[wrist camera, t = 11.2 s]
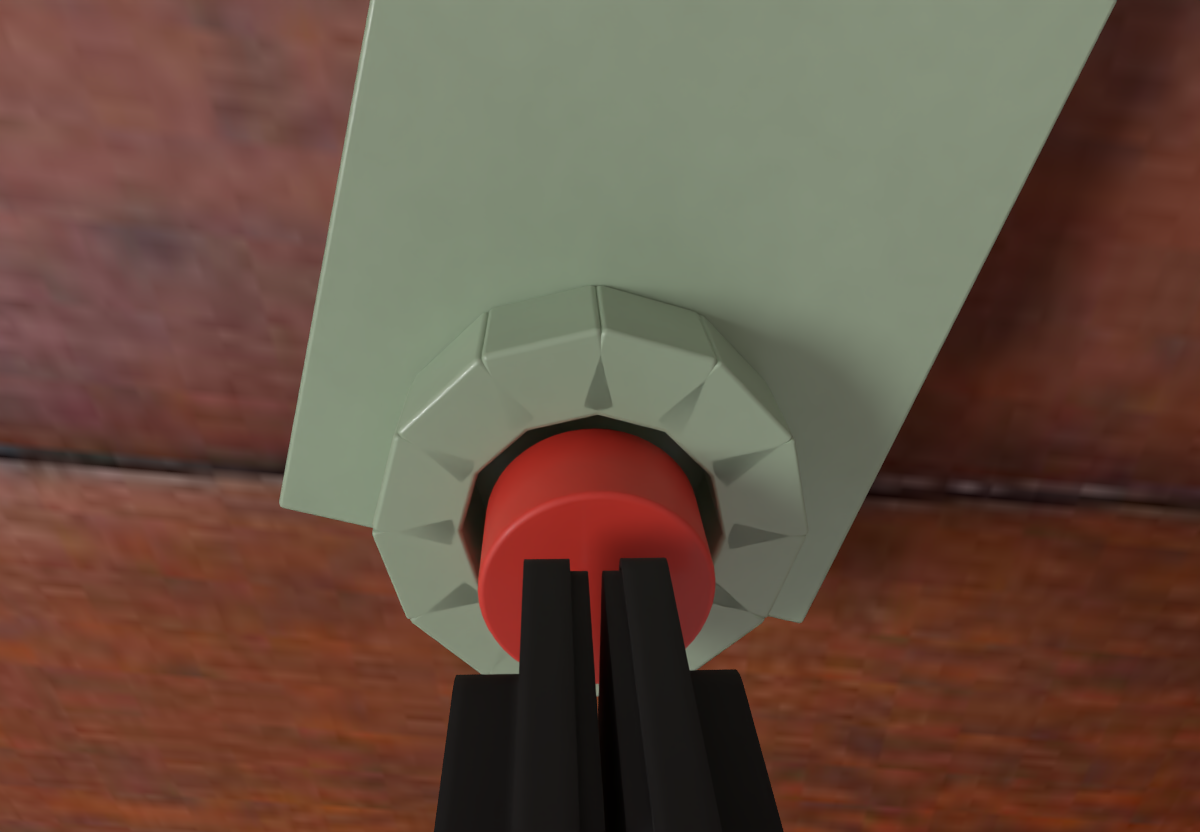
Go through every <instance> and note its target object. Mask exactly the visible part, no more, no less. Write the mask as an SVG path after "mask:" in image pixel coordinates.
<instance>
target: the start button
mask: <svg viewBox="0 0 1200 832" xmlns="http://www.w3.org/2000/svg"><path fill="white" fill-rule="evenodd" d="M662 557H665V558H666V559H667V562H668V566H669V571H670V576H671V581H672V586H673V591H674V596H675V600H676V605H677V610H678V615H679V620H680V625H681V630H682V635H683V640H684V645H685V649H686V648H687V647H688V646H689V645H690V644H691V643H692V641H693V640H694V639H695V638H696V636H697V635H698V634H699V632H700V631H701V629H702V627H703V625H704V624H705V622H706V620H707V618H708V615H709V613H710V610H711V607H712V604H713V600H714V595H715V580H716V579H715V571H714V565H713V561H712V557H711V554H710V550H709V546H708V542H707V539H706V535H705V531H704V527H703V523H702V520H701V516H700V512H699V508H698V505H697V501H696V497H695V494H694V491H693V488H692V486H691V484H690V481H689V479H688V477H687V476H686V474H685V473H684V471H683V470H682V468H681V467H680V466H679V465H678V464H677V463H676V462H675V461H674V459H673V458H672V457H670V456H669V455H668V454H667V453H666V452H664V451H663V450H662V449H660V448H659V447H657V446H655V445H654V444H652V443H651V442H649V441H646V440H644V439H642V438H640V437H638V436H635V435H632V434H629V433H625V432H621V431H616V430H611V429H598V428H593V429H579V430H573V431H567V432H563V433H560V434H556V435H553V436H551V437H549V438H546V439H544V440H541V441H540V442H538V443H536V444H534V445H533V446H531V447H529V448H528V449H526V450H525V451H524V452H522V453H521V454H520V455H518V456H517V457H516V458H515V459H514V460H513V461H512V462H511V463H510V464H509V465H508V466H507V467H506V468H505V470H504V471H503V472H502V474H501V475H500V476H499V478H498V480H497V482H496V483H495V485H494V487H493V489H492V492H491V494H490V497H489V500H488V505H487V510H486V518H485V526H484V534H483V543H482V551H481V560H480V568H479V577H478V600H479V606H480V609H481V613H482V616H483V619H484V621H485V623H486V625H487V627H488V629H489V631H490V632H491V634H492V635H493V637H494V638H495V640H496V641H497V642H498V644H499V645H500V646H501V647H502V648H503V649H504V650H505V651H506V652H507V653H508V654H509V655H510V656H511V657H513V658H514V659H515V660H516V661H518V662H519V659H520V635H521V611H522V587H523V564H524V559H570V571H588V578H589V593H590V608H591V623H592V638H593V653H594V668H595V683H596V684H599V661H600V622H601V582H602V571H611V570H619V561H620V558H662Z"/></svg>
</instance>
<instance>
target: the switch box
mask: <svg viewBox="0 0 1200 832" xmlns="http://www.w3.org/2000/svg"><path fill="white" fill-rule="evenodd" d="M1116 2H1117V0H370V4H369V9H368V15H367V20H366V26H365V31H364V37H363V42H362V48H361V53H360V59H359V64H358V70H357V76H356V81H355V87H354V92H353V98H352V103H351V109H350V114H349V120H348V125H347V131H346V136H345V142H344V147H343V153H342V158H341V164H340V169H339V175H338V180H337V186H336V191H335V197H334V202H333V208H332V213H331V219H330V224H329V230H328V235H327V241H326V246H325V252H324V257H323V263H322V268H321V274H320V279H319V285H318V290H317V296H316V301H315V307H314V312H313V318H312V323H311V329H310V335H309V340H308V346H307V351H306V357H305V362H304V368H303V373H302V379H301V384H300V390H299V395H298V401H297V406H296V412H295V417H294V423H293V428H292V434H291V439H290V445H289V450H288V456H287V461H286V467H285V472H284V478H283V483H282V489H281V494H280V500H279V503H280V506H281V507H283V508H286V509H291V510H295V511H300V512H304V513H309V514H313V515H318V516H322V517H327V518H331V519H336V520H340V521H345V522H349V523H354V524H358V525H362V526H367V527H371V528H373V532H372V535H373V537H374V539H375V542H376V544H377V547H378V549H379V552H380V554H381V556H382V559H383V561H384V564H385V566H386V569H387V571H388V573H389V576H390V578H391V581H392V583H393V586H394V588H395V590H396V593H397V595H398V598H399V600H400V603H401V605H402V607H403V610H404V612H405V615H406V617H407V618H408V619H411V621H412V623H413V624H415V625H416V626H417V627H419V628H420V629H422V630H423V631H424V632H426V633H427V634H428V635H430V636H431V637H432V638H434V639H435V640H436V641H438V642H439V643H440V644H442V645H443V646H444V647H446V648H447V649H448V650H450V651H451V652H452V653H454V654H455V655H456V656H458V657H459V658H460V659H462V660H463V661H465V662H466V663H467V664H469V665H470V666H471V667H473V668H474V669H475V670H477V671H478V672H479V673H481V674H519V662H518V661H516V660H515V659H514V658H513V657H511V656H510V655H509V654H508V653H507V652H506V651H505V650H504V649H503V648H502V647H501V646H500V645H499V644H498V642H497V641H496V640H495V638H494V637H493V635H492V634H491V632H490V631H489V629H488V627H487V625H486V623H485V621H484V619H483V616H482V613H481V609H480V606H479V600H478V577H479V568H480V560H481V551H482V543H483V534H484V526H485V518H486V510H487V505H488V500H489V497H490V494H491V492H492V489H493V487H494V485H495V483H496V482H497V480H498V478H499V476H500V475H501V474H502V472H503V471H504V470H505V468H506V467H507V466H508V465H509V464H510V463H511V462H512V461H513V460H514V459H515V458H516V457H517V456H518V455H520V454H521V453H522V452H524V451H525V450H526V449H528V448H529V447H531V446H533V445H534V444H536V443H538V442H540V441H541V440H544V439H546V438H549V437H551V436H553V435H556V434H560V433H563V432H567V431H573V430H579V429H593V428H598V429H611V430H616V431H621V432H625V433H629V434H632V435H635V436H638V437H640V438H642V439H644V440H646V441H649V442H651V443H652V444H654V445H655V446H657V447H659V448H660V449H662V450H663V451H664V452H666V453H667V454H668V455H669V456H670V457H672V458H673V459H674V461H675V462H676V463H677V464H678V465H679V466H680V467H681V468H682V470H683V471H684V473H685V474H686V476H687V477H688V479H689V481H690V484H691V486H692V488H693V491H694V494H695V497H696V501H697V505H698V508H699V512H700V516H701V520H702V523H703V527H704V531H705V535H706V539H707V542H708V546H709V550H710V554H711V557H712V561H713V565H714V571H715V579H716V580H715V595H714V600H713V604H712V607H711V610H710V613H709V615H708V618H707V620H706V622H705V624H704V625H703V627H702V629H701V631H700V632H699V634H698V635H697V636H696V638H695V639H694V640H693V641H692V643H691V644H690V645H689V646H688V647H687V648H686V649H685V650H686V655H687V660H688V665H689V670H697V669H698V668H700V667H701V666H703V665H704V664H705V663H707V662H708V661H710V660H711V659H712V658H714V657H715V656H717V655H718V654H719V653H721V652H722V651H723V650H725V649H726V648H728V647H729V646H730V645H732V644H733V643H735V642H736V641H737V640H739V639H740V638H742V637H743V636H744V635H746V634H747V633H749V632H750V631H751V630H753V629H754V628H756V627H757V626H758V625H760V624H761V623H762V622H763V621H764V618H765V617H767V616H770V617H774V618H779V619H783V620H788V621H792V622H797V623H801V622H802V621H803V620H804V618H805V616H806V614H807V612H808V610H809V608H810V606H811V604H812V602H813V600H814V598H815V596H816V594H817V592H818V590H819V588H820V587H821V585H822V583H823V581H824V579H825V577H826V575H827V573H828V571H829V569H830V567H831V565H832V563H833V561H834V559H835V557H836V555H837V553H838V551H839V549H840V547H841V545H842V543H843V541H844V539H845V537H846V535H847V533H848V531H849V529H850V527H851V525H852V523H853V521H854V519H855V517H856V515H857V513H858V511H859V509H860V507H861V506H862V504H863V502H864V500H865V498H866V496H867V494H868V492H869V490H870V488H871V486H872V484H873V482H874V480H875V478H876V476H877V474H878V472H879V470H880V468H881V466H882V464H883V462H884V460H885V458H886V456H887V454H888V452H889V450H890V448H891V446H892V444H893V442H894V440H895V438H896V436H897V434H898V432H899V430H900V428H901V426H902V424H903V423H904V421H905V419H906V417H907V415H908V413H909V411H910V409H911V407H912V405H913V403H914V401H915V399H916V397H917V395H918V393H919V391H920V389H921V387H922V385H923V383H924V381H925V379H926V377H927V375H928V373H929V371H930V369H931V367H932V365H933V363H934V361H935V359H936V357H937V355H938V353H939V351H940V349H941V347H942V345H943V343H944V342H945V340H946V338H947V336H948V334H949V332H950V330H951V328H952V326H953V324H954V322H955V320H956V318H957V316H958V314H959V312H960V310H961V308H962V306H963V304H964V302H965V300H966V298H967V296H968V294H969V292H970V290H971V288H972V286H973V284H974V282H975V280H976V278H977V276H978V274H979V272H980V270H981V268H982V266H983V264H984V262H985V261H986V259H987V257H988V255H989V253H990V251H991V249H992V247H993V245H994V243H995V241H996V239H997V237H998V235H999V233H1000V231H1001V229H1002V227H1003V225H1004V223H1005V221H1006V219H1007V217H1008V215H1009V213H1010V211H1011V209H1012V207H1013V205H1014V203H1015V201H1016V199H1017V197H1018V195H1019V193H1020V191H1021V189H1022V187H1023V185H1024V183H1025V181H1026V180H1027V178H1028V176H1029V174H1030V172H1031V170H1032V168H1033V166H1034V164H1035V162H1036V160H1037V158H1038V156H1039V154H1040V152H1041V150H1042V148H1043V146H1044V144H1045V142H1046V140H1047V138H1048V136H1049V134H1050V132H1051V130H1052V128H1053V126H1054V124H1055V122H1056V120H1057V118H1058V116H1059V114H1060V112H1061V110H1062V108H1063V106H1064V104H1065V102H1066V100H1067V99H1068V97H1069V95H1070V93H1071V91H1072V89H1073V87H1074V85H1075V83H1076V81H1077V79H1078V77H1079V75H1080V73H1081V71H1082V69H1083V67H1084V65H1085V63H1086V61H1087V59H1088V57H1089V55H1090V53H1091V51H1092V49H1093V47H1094V45H1095V43H1096V41H1097V39H1098V37H1099V35H1100V33H1101V31H1102V29H1103V27H1104V25H1105V23H1106V21H1107V19H1108V18H1109V16H1110V14H1111V12H1112V10H1113V8H1114V6H1115V4H1116ZM596 696H599V684H596Z"/></svg>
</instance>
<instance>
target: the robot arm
mask: <svg viewBox="0 0 1200 832" xmlns="http://www.w3.org/2000/svg"><path fill="white" fill-rule="evenodd" d="M434 832H783V828H782V824H781V821H780V817H779V813H778V810H777V806H776V802H775V799H774V795H773V791H772V788H771V784H770V780H769V777H768V773H767V770H766V766H765V762H764V759H763V755H762V751H761V748H760V744H759V740H758V737H757V733H756V729H755V726H754V722H753V718H752V715H751V711H750V707H749V704H748V700H747V696H746V693H745V689H744V685H743V682H742V680H741V677H740V674H739V673H738V671H737V670H689V665H688V660H687V655H686V650H685V645H684V640H683V635H682V630H681V625H680V620H679V615H678V610H677V605H676V600H675V596H674V591H673V586H672V581H671V576H670V571H669V566H668V562H667V559H666V558H665V557H662V558H620V561H619V570H611V571H602V582H601V622H600V661H599V700H598V713H597V698H596V683H595V668H594V653H593V638H592V623H591V608H590V593H589V578H588V571H570V559H524V564H523V587H522V611H521V635H520V659H519V674H481V675H456V677H455V680H454V686H453V692H452V700H451V708H450V715H449V723H448V730H447V738H446V745H445V753H444V760H443V768H442V776H441V783H440V791H439V798H438V806H437V813H436V821H435V828H434Z"/></svg>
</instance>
